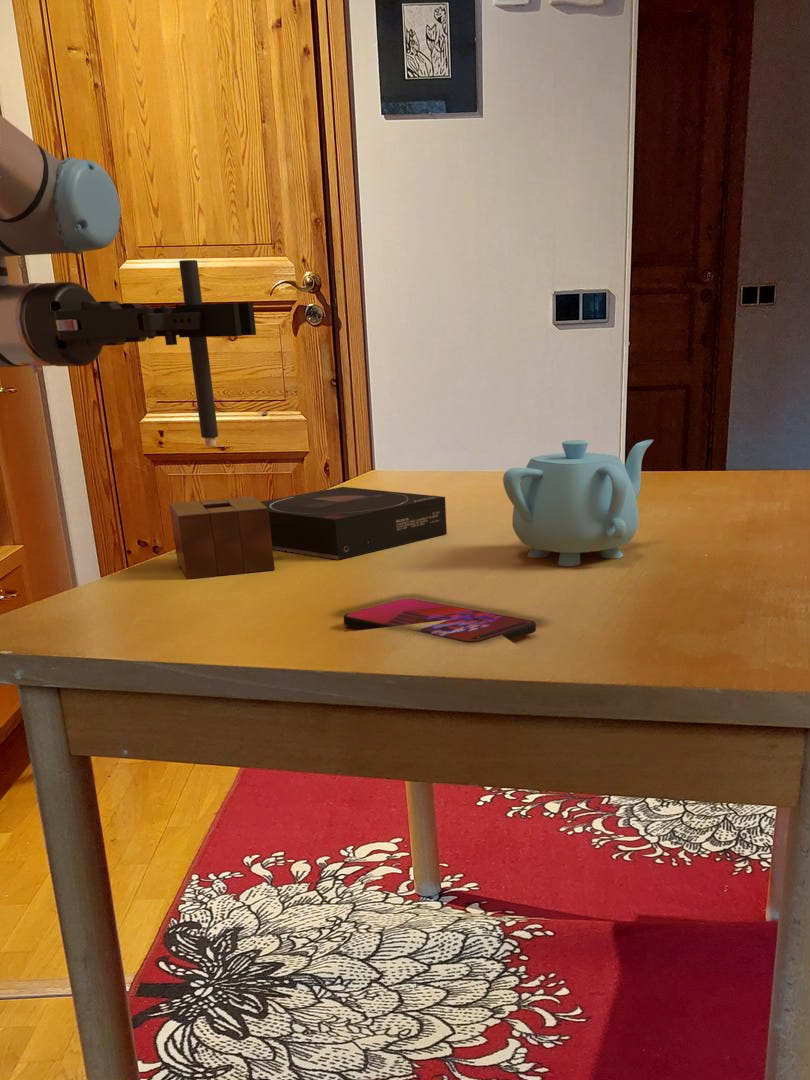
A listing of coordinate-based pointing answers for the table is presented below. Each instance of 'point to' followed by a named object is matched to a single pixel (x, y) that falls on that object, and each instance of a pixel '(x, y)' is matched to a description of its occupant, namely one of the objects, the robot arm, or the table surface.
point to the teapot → (576, 502)
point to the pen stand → (222, 536)
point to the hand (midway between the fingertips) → (244, 319)
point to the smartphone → (458, 627)
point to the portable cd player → (353, 521)
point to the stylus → (200, 357)
